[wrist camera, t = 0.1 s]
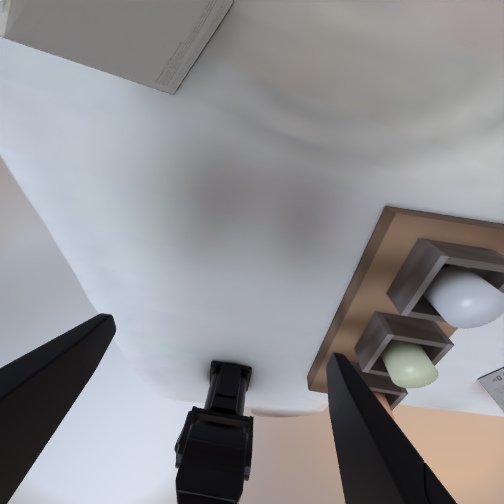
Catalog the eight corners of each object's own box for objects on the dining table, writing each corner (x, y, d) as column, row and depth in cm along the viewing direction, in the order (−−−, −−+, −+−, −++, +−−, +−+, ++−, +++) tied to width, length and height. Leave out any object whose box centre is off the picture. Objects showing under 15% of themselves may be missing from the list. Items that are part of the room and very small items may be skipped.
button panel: (383, 389, 34) (398, 428, 29) (306, 376, 34) (311, 413, 30) (518, 226, 20) (586, 254, 15) (385, 205, 20) (416, 227, 15)
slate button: (456, 305, 20) (484, 332, 17) (413, 298, 20) (433, 323, 17) (486, 270, 18) (521, 294, 15) (437, 262, 18) (465, 285, 15)
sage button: (408, 363, 24) (424, 391, 22) (373, 357, 24) (384, 384, 22) (427, 340, 22) (447, 368, 20) (388, 333, 22) (403, 360, 20)
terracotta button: (375, 402, 29) (385, 429, 26) (345, 397, 29) (352, 424, 26) (388, 386, 27) (400, 414, 24) (356, 381, 27) (365, 408, 24)
